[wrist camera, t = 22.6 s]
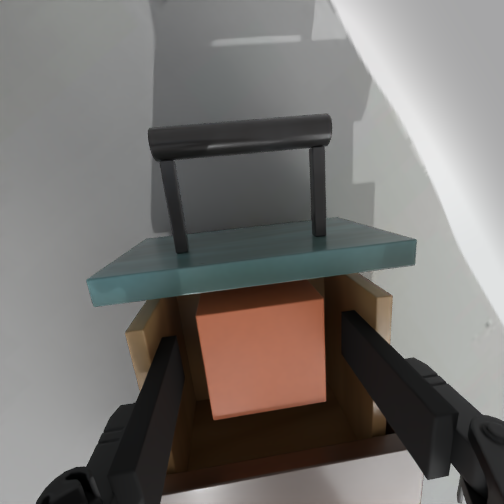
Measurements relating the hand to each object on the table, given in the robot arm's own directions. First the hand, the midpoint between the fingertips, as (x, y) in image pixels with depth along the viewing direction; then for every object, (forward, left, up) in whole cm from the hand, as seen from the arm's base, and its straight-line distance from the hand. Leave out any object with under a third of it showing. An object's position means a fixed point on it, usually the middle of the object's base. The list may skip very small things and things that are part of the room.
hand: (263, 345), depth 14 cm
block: (0, 0, -4) cm, 4 cm away
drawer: (-1, +1, -6) cm, 6 cm away
